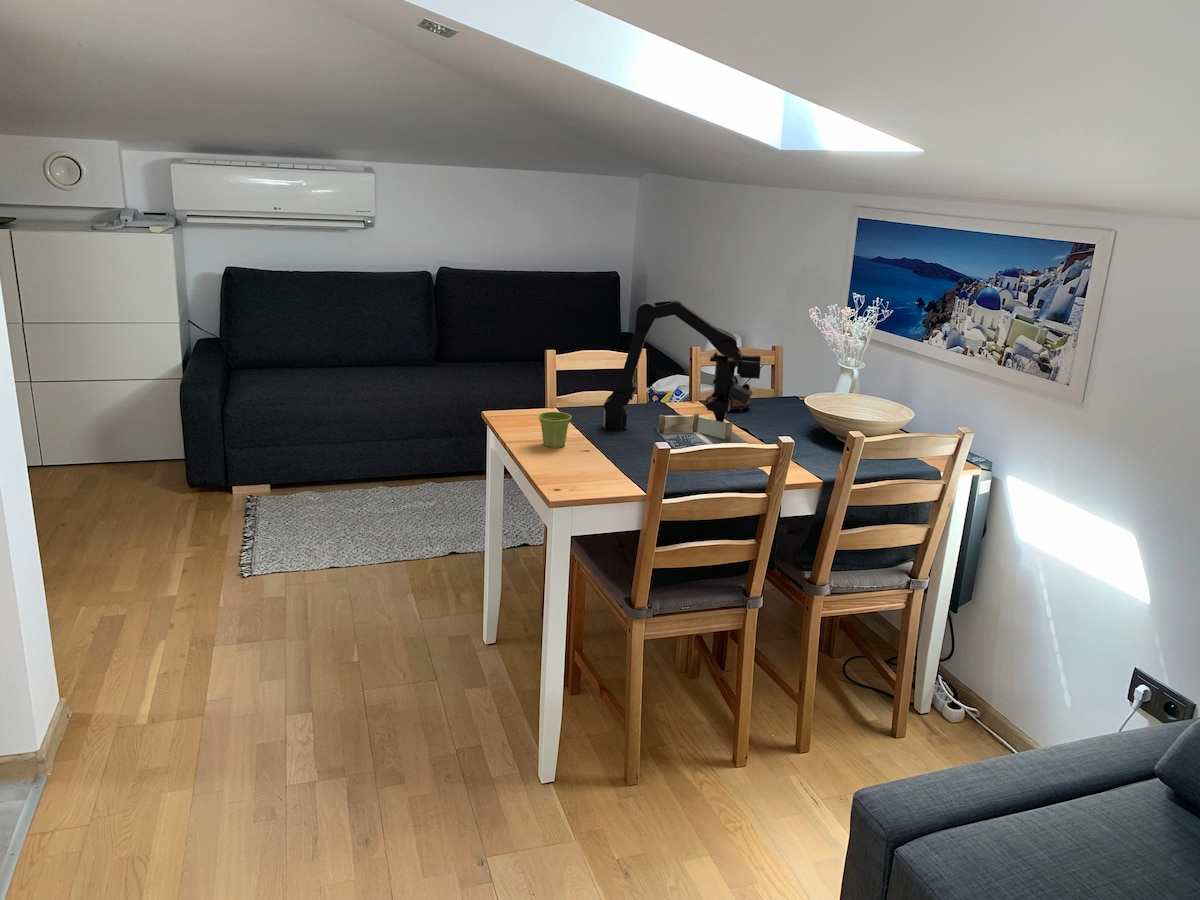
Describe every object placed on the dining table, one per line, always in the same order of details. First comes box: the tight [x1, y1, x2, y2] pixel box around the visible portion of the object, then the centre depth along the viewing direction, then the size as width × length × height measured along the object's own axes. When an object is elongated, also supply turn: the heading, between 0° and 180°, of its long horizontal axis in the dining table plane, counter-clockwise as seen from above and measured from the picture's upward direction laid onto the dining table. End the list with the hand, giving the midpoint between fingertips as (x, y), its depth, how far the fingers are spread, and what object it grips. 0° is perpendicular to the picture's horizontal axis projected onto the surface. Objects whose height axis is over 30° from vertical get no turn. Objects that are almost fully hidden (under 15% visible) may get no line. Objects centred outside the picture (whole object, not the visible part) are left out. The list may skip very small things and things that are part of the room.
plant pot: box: [537, 411, 572, 449], centre depth 263 cm, size 9×9×9 cm
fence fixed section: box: [657, 412, 700, 434], centre depth 282 cm, size 13×2×6 cm, turn 105°
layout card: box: [658, 426, 749, 449], centre depth 279 cm, size 24×21×1 cm
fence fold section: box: [697, 415, 733, 440], centre depth 279 cm, size 12×2×5 cm, turn 49°
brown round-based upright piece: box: [705, 355, 751, 413], centre depth 311 cm, size 15×15×20 cm
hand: (720, 426), depth 280 cm, fingers closed
